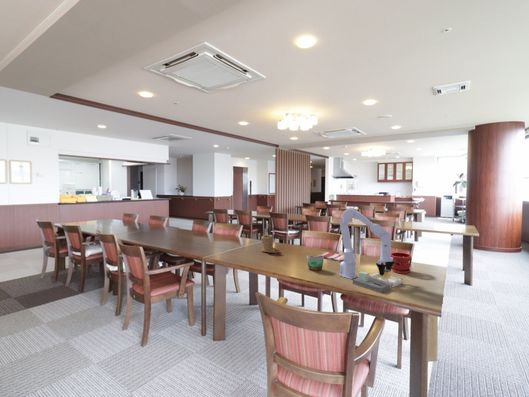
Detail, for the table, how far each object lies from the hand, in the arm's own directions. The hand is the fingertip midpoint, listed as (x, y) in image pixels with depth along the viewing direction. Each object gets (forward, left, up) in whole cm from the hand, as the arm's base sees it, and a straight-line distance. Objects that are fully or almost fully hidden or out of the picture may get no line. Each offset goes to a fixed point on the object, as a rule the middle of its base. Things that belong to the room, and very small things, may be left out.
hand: (385, 273), depth 172 cm
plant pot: (-4, +27, -5) cm, 28 cm away
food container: (-41, -17, -5) cm, 45 cm away
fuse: (-6, -14, -5) cm, 16 cm away
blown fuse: (0, 0, -4) cm, 4 cm away
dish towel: (-54, +21, -6) cm, 58 cm away
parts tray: (0, 0, -5) cm, 5 cm away
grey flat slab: (-1, -14, -5) cm, 15 cm away
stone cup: (-100, -10, -5) cm, 101 cm away
